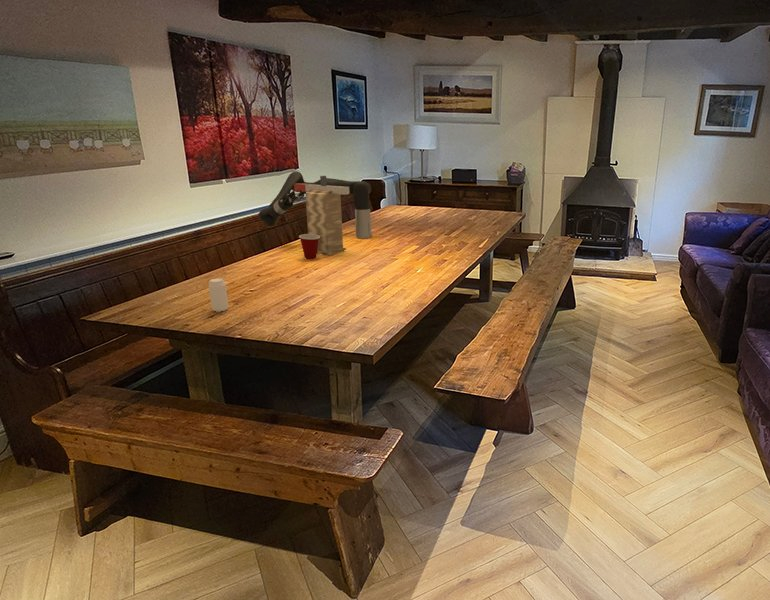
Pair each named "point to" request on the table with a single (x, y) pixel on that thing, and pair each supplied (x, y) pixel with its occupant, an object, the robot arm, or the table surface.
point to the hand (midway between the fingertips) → (299, 191)
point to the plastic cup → (309, 245)
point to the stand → (325, 220)
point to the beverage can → (218, 295)
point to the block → (321, 187)
